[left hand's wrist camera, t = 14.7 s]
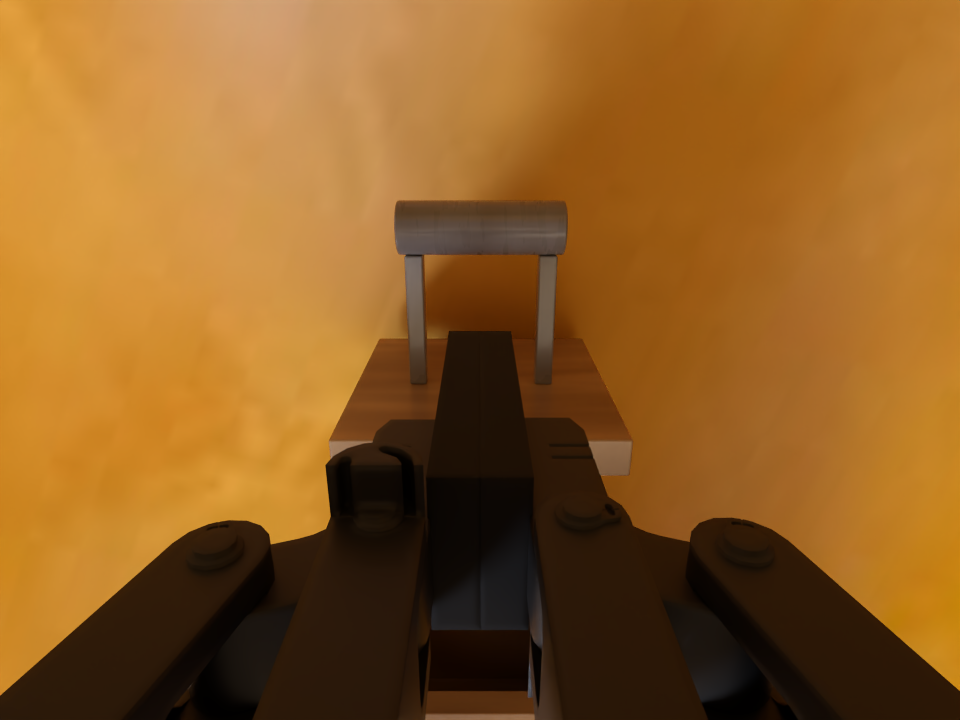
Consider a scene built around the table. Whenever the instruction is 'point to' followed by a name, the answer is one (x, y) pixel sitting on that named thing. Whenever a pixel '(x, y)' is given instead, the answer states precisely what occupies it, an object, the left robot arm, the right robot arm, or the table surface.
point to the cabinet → (479, 705)
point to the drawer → (542, 378)
